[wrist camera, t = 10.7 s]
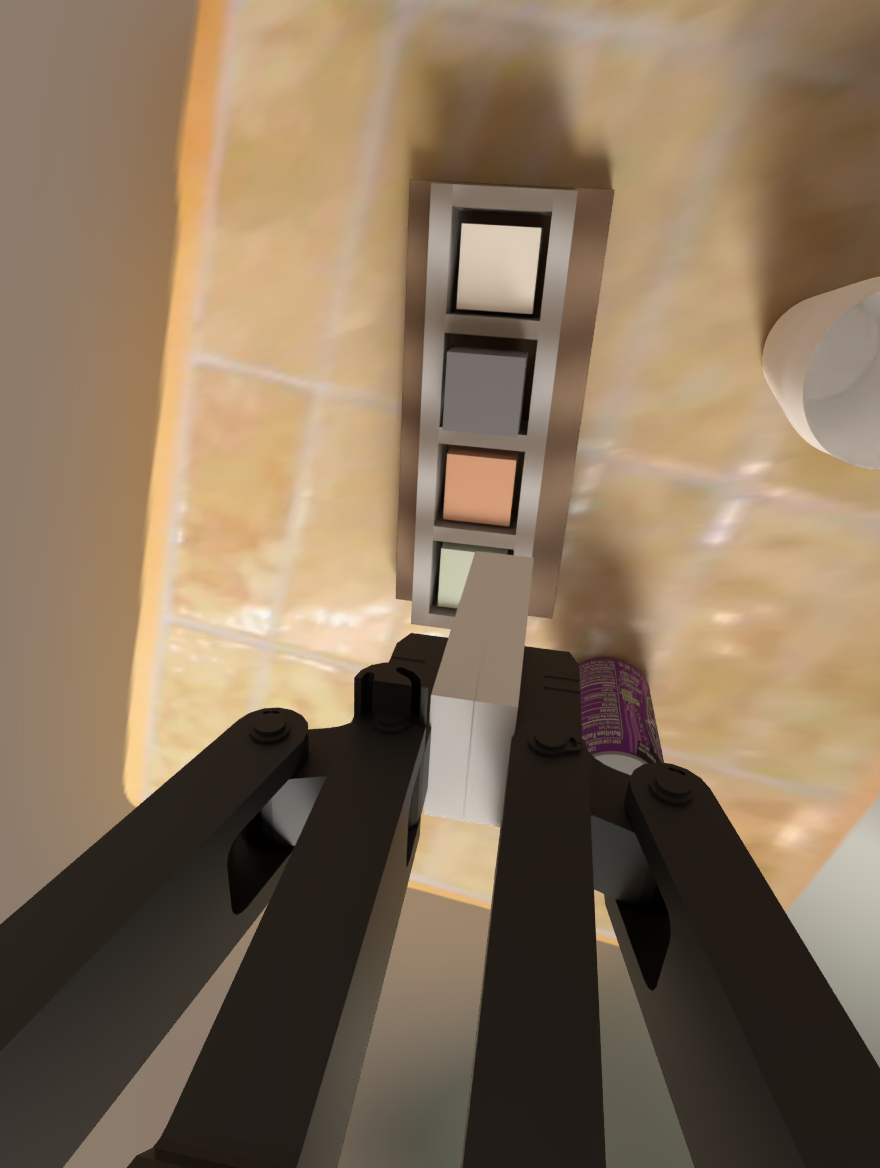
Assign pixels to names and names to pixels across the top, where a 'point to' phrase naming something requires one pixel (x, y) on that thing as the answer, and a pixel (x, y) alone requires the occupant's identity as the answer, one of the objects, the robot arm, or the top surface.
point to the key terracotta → (480, 485)
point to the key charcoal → (484, 390)
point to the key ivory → (498, 268)
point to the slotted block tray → (547, 335)
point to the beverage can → (618, 715)
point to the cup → (831, 371)
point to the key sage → (457, 570)
